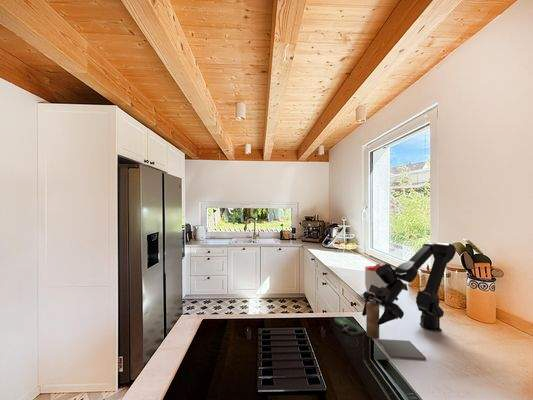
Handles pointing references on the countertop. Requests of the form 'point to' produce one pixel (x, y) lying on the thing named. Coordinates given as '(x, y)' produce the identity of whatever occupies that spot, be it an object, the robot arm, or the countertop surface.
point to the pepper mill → (372, 319)
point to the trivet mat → (401, 349)
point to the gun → (348, 326)
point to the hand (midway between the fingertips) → (370, 319)
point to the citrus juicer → (373, 278)
